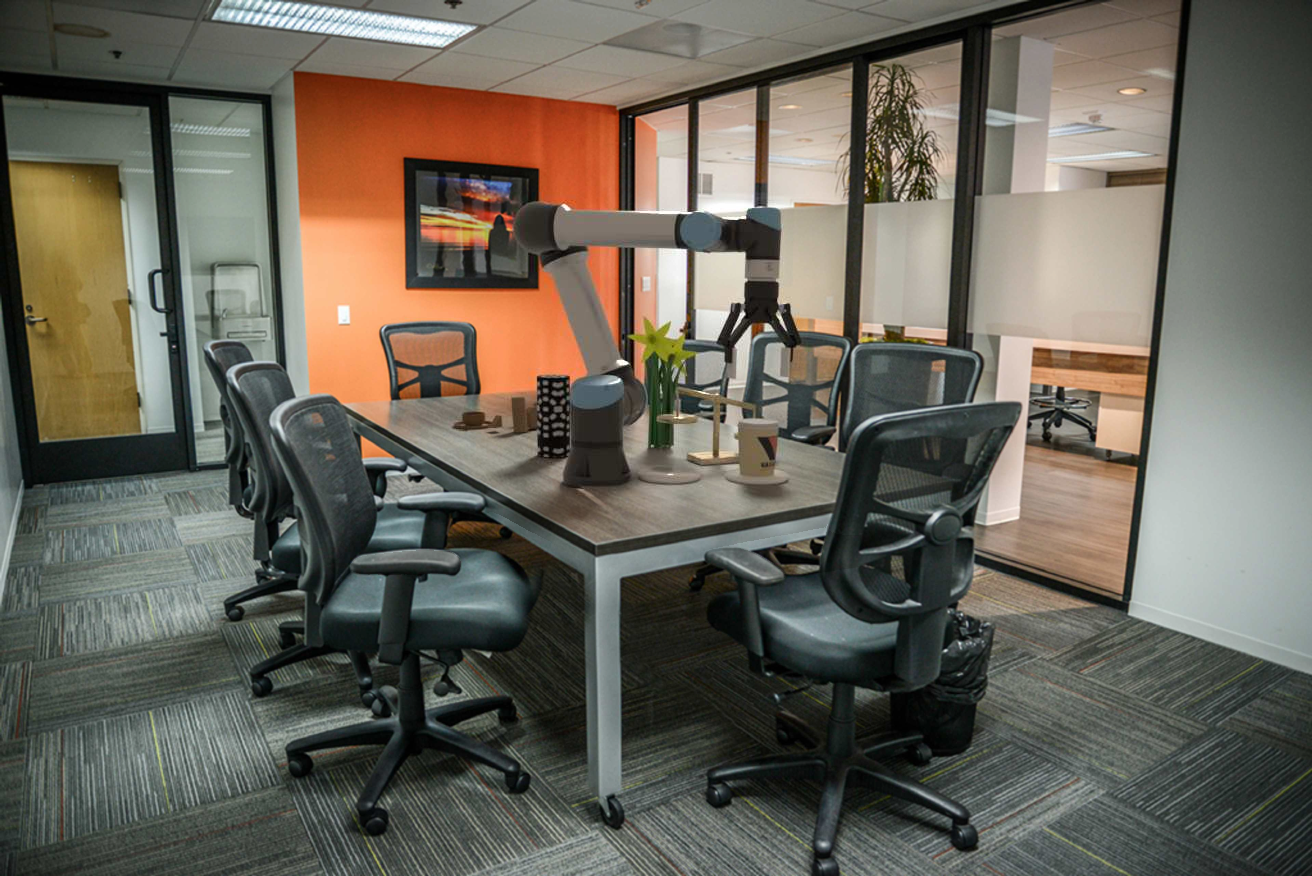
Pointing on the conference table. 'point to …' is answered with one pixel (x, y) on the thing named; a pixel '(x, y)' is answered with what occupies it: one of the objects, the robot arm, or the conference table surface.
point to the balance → (716, 455)
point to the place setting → (472, 421)
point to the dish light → (669, 475)
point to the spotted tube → (553, 415)
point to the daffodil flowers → (661, 378)
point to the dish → (756, 478)
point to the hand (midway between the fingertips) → (758, 377)
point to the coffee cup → (757, 446)
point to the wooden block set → (519, 416)
